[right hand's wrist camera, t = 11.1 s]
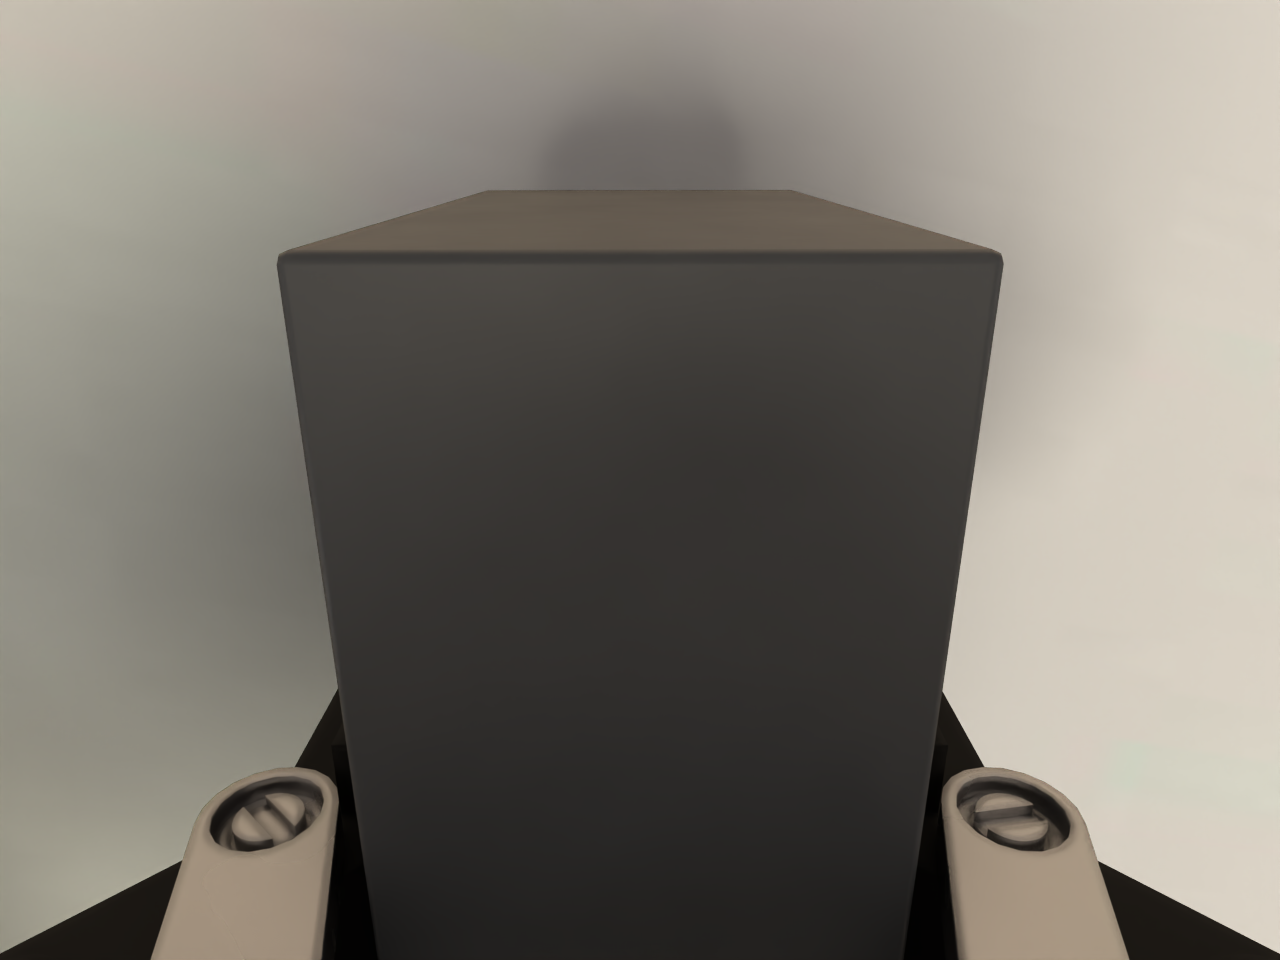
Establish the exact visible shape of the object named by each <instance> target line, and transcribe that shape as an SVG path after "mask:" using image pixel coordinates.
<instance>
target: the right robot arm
mask: <svg viewBox="0 0 1280 960" xmlns="http://www.w3.org/2000/svg"><path fill="white" fill-rule="evenodd" d="M0 960H378V958H377V951H376V944H375V937H374V930H373V924H372V917H371V910H370V903H369V896H368V889H367V882H366V875H365V868H364V862H363V855H362V848H361V841H360V834H359V827H358V820H357V813H356V807H355V800H354V793H353V786H352V779H351V772H350V765H349V758H348V751H347V745H346V738H345V731H344V724H343V717H342V710H341V703H340V696H339V690H337V692H336V693H335V695H334V697H333V699H332V701H331V703H330V704H329V706H328V708H327V710H326V712H325V713H324V715H323V717H322V719H321V721H320V722H319V724H318V726H317V728H316V730H315V731H314V733H313V735H312V737H311V739H310V740H309V742H308V744H307V746H306V748H305V749H304V751H303V753H302V755H301V757H300V758H299V760H298V762H297V764H296V766H295V767H291V768H276V769H272V770H268V771H263V772H259V773H255V774H253V775H251V776H248V777H246V778H244V779H241V780H239V781H237V782H235V783H233V784H231V785H230V786H228V787H227V788H225V789H224V790H222V791H221V792H219V793H218V794H216V795H215V796H214V797H213V798H212V799H211V800H210V801H209V802H208V803H207V804H206V805H205V806H204V807H203V809H202V810H201V812H200V814H199V816H198V818H197V820H196V821H195V823H194V826H193V829H192V832H191V836H190V839H189V842H188V845H187V848H186V851H185V854H184V857H183V860H182V861H180V862H178V863H176V864H174V865H172V866H170V867H169V868H167V869H165V870H163V871H161V872H159V873H157V874H155V875H153V876H151V877H149V878H147V879H145V880H143V881H141V882H139V883H137V884H135V885H133V886H131V887H129V888H128V889H126V890H124V891H122V892H120V893H118V894H116V895H114V896H112V897H110V898H108V899H106V900H104V901H102V902H100V903H98V904H96V905H94V906H92V907H90V908H88V909H87V910H85V911H83V912H81V913H79V914H77V915H75V916H73V917H71V918H69V919H67V920H65V921H63V922H61V923H59V924H57V925H55V926H53V927H51V928H49V929H47V930H46V931H44V932H42V933H40V934H38V935H36V936H34V937H32V938H30V939H28V940H26V941H24V942H22V943H20V944H18V945H16V946H14V947H12V948H10V949H8V950H7V951H5V952H3V953H1V954H0ZM904 960H1280V954H1279V953H1277V952H1275V951H1273V950H1271V949H1269V948H1267V947H1265V946H1263V945H1261V944H1259V943H1257V942H1255V941H1253V940H1251V939H1249V938H1248V937H1246V936H1244V935H1242V934H1240V933H1238V932H1236V931H1234V930H1232V929H1230V928H1228V927H1226V926H1224V925H1222V924H1220V923H1218V922H1216V921H1214V920H1212V919H1210V918H1208V917H1206V916H1205V915H1203V914H1201V913H1199V912H1197V911H1195V910H1193V909H1191V908H1189V907H1187V906H1185V905H1183V904H1181V903H1179V902H1177V901H1175V900H1173V899H1171V898H1169V897H1167V896H1165V895H1163V894H1162V893H1160V892H1158V891H1156V890H1154V889H1152V888H1150V887H1148V886H1146V885H1144V884H1142V883H1140V882H1138V881H1136V880H1134V879H1132V878H1130V877H1128V876H1126V875H1124V874H1122V873H1120V872H1119V871H1117V870H1115V869H1113V868H1111V867H1109V866H1107V865H1105V864H1103V863H1101V862H1099V861H1098V860H1097V857H1096V854H1095V851H1094V848H1093V845H1092V842H1091V839H1090V836H1089V832H1088V829H1087V826H1086V823H1085V821H1084V820H1083V818H1082V816H1081V814H1080V812H1079V810H1078V809H1077V807H1076V806H1075V805H1074V804H1073V803H1072V802H1071V801H1070V800H1069V799H1068V798H1067V797H1066V796H1065V795H1064V794H1062V793H1061V792H1059V791H1058V790H1056V789H1055V788H1053V787H1052V786H1050V785H1049V784H1047V783H1045V782H1043V781H1041V780H1039V779H1036V778H1034V777H1032V776H1029V775H1027V774H1025V773H1021V772H1017V771H1012V770H1008V769H1004V768H989V767H984V765H983V764H982V762H981V760H980V758H979V756H978V755H977V753H976V751H975V749H974V747H973V746H972V744H971V742H970V740H969V738H968V737H967V735H966V733H965V731H964V729H963V728H962V726H961V724H960V722H959V720H958V719H957V717H956V715H955V713H954V711H953V710H952V708H951V706H950V704H949V702H948V701H947V699H946V697H945V695H944V693H943V692H942V696H941V703H940V710H939V717H938V723H937V730H936V737H935V744H934V751H933V758H932V765H931V772H930V779H929V786H928V793H927V800H926V807H925V814H924V821H923V828H922V835H921V842H920V849H919V856H918V863H917V870H916V877H915V884H914V891H913V897H912V904H911V911H910V918H909V925H908V932H907V939H906V946H905V953H904Z"/></svg>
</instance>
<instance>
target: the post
mask: <svg viewBox="0 0 1280 960" xmlns="http://www.w3.org/2000/svg"><path fill="white" fill-rule="evenodd" d="M1003 264H1004V263H1003V259H1002V255H1001V253H999V252H997V251H994V250H992V249H989V248H986V247H982V246H979V245H976V244H972V243H969V242H965V241H962V240H959V239H955V238H952V237H948V236H945V235H942V234H938V233H935V232H931V231H928V230H925V229H921V228H918V227H914V226H911V225H908V224H904V223H901V222H897V221H894V220H891V219H887V218H884V217H880V216H877V215H874V214H870V213H867V212H863V211H860V210H857V209H853V208H850V207H846V206H843V205H840V204H836V203H833V202H829V201H826V200H823V199H819V198H816V197H813V196H809V195H806V194H802V193H799V192H796V191H792V190H488V191H484V192H481V193H478V194H474V195H471V196H468V197H464V198H461V199H458V200H454V201H451V202H447V203H444V204H441V205H437V206H434V207H431V208H427V209H424V210H421V211H417V212H414V213H411V214H407V215H404V216H401V217H397V218H394V219H391V220H387V221H384V222H381V223H377V224H374V225H371V226H367V227H364V228H361V229H357V230H354V231H350V232H347V233H344V234H340V235H337V236H334V237H330V238H327V239H324V240H320V241H317V242H314V243H310V244H307V245H304V246H300V247H297V248H294V249H290V250H288V251H285V252H283V253H281V254H279V257H278V261H277V270H278V277H279V283H280V290H281V297H282V304H283V311H284V318H285V325H286V332H287V339H288V345H289V352H290V359H291V366H292V373H293V380H294V387H295V394H296V400H297V407H298V414H299V421H300V428H301V435H302V442H303V449H304V456H305V462H306V469H307V476H308V483H309V490H310V497H311V504H312V511H313V517H314V524H315V531H316V538H317V545H318V552H319V559H320V566H321V573H322V579H323V586H324V593H325V600H326V607H327V614H328V621H329V628H330V634H331V641H332V648H333V655H334V662H335V669H336V676H337V683H338V690H339V696H340V703H341V710H342V717H343V724H344V731H345V738H346V745H347V751H348V758H349V765H350V772H351V779H352V786H353V793H354V800H355V807H356V813H357V820H358V827H359V834H360V841H361V848H362V855H363V862H364V868H365V875H366V882H367V889H368V896H369V903H370V910H371V917H372V924H373V930H374V937H375V944H376V951H377V958H378V960H904V953H905V946H906V939H907V932H908V925H909V918H910V911H911V904H912V897H913V891H914V884H915V877H916V870H917V863H918V856H919V849H920V842H921V835H922V828H923V821H924V814H925V807H926V800H927V793H928V786H929V779H930V772H931V765H932V758H933V751H934V744H935V737H936V730H937V723H938V717H939V710H940V703H941V696H942V689H943V682H944V675H945V668H946V661H947V654H948V647H949V640H950V633H951V626H952V619H953V612H954V605H955V598H956V591H957V584H958V577H959V570H960V563H961V556H962V549H963V543H964V536H965V529H966V522H967V515H968V508H969V501H970V494H971V487H972V480H973V473H974V466H975V459H976V452H977V445H978V438H979V431H980V424H981V417H982V410H983V403H984V396H985V389H986V382H987V376H988V369H989V362H990V355H991V348H992V341H993V334H994V327H995V320H996V313H997V306H998V299H999V292H1000V285H1001V278H1002V271H1003Z"/></svg>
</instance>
